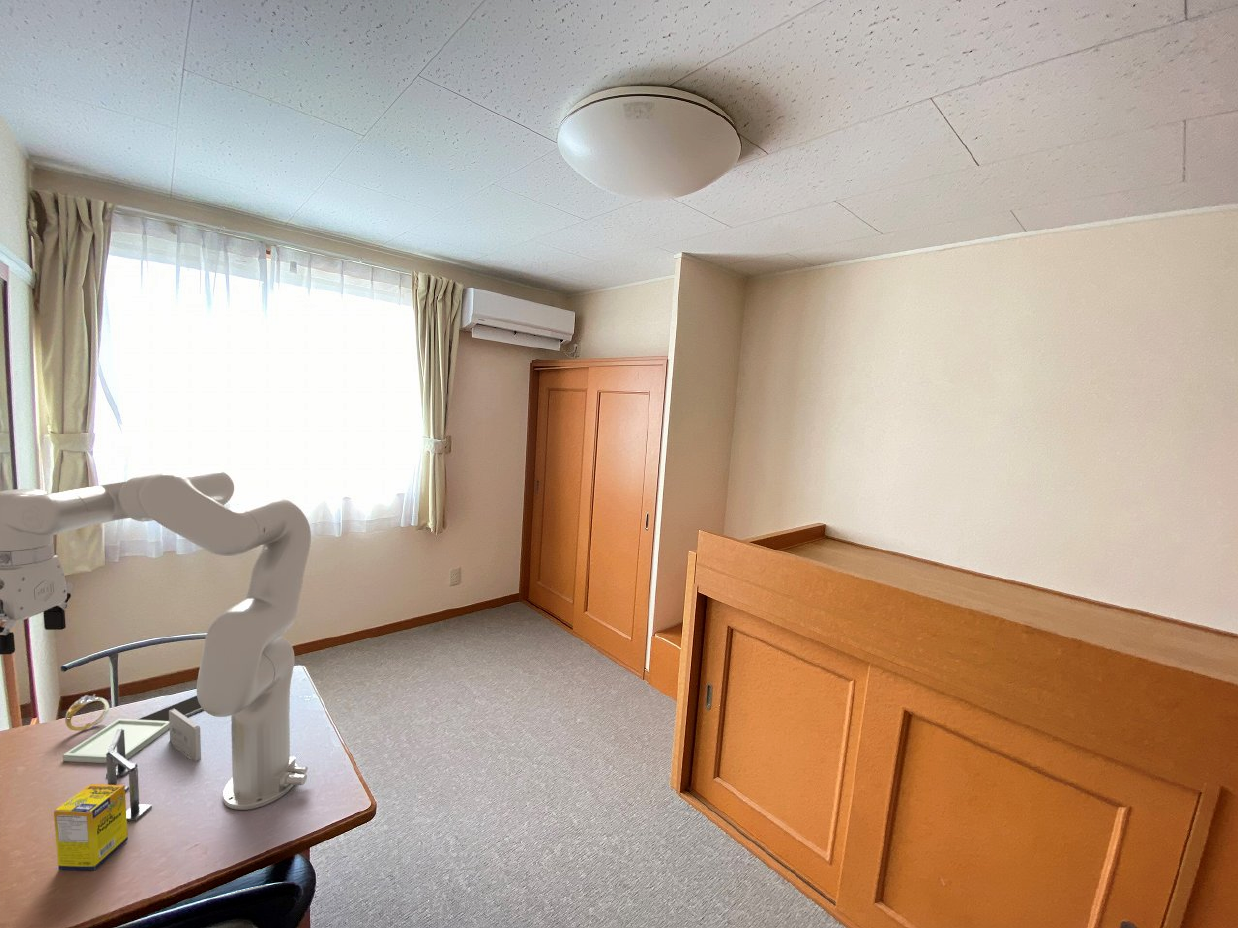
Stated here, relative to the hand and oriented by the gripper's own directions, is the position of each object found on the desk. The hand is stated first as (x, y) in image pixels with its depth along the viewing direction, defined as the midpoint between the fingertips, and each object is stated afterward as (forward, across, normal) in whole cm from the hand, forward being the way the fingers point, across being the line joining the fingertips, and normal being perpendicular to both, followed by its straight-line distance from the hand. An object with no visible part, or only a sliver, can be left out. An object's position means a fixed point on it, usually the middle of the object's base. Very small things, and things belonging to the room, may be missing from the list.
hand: (30, 640), depth 94 cm
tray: (+30, +11, -6) cm, 32 cm away
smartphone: (+30, +20, -10) cm, 38 cm away
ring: (+30, +16, +5) cm, 34 cm away
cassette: (+30, +8, -20) cm, 37 cm away
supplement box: (+30, -18, -23) cm, 42 cm away
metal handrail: (+30, -4, -18) cm, 35 cm away
